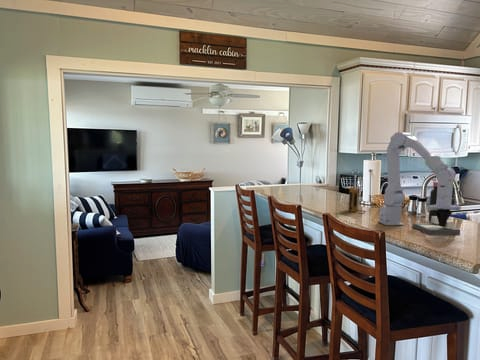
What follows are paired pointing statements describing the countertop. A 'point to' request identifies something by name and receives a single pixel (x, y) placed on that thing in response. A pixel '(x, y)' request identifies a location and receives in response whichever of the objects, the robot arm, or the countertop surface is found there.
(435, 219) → the tab back
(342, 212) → the countertop surface
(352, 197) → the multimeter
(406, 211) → the countertop surface
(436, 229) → the switch panel
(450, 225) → the tab front
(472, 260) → the countertop surface
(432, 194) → the bottle
